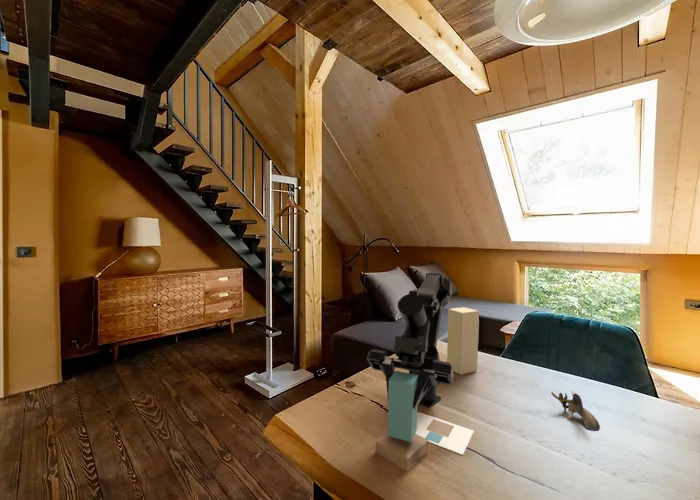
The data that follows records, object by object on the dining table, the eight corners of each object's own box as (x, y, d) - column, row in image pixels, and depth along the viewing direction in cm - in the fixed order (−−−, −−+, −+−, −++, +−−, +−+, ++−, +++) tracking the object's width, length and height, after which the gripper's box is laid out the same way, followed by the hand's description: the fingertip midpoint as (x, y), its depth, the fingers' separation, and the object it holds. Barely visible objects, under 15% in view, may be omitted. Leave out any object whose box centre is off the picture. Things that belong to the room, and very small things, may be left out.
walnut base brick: (397, 437, 74) (397, 424, 74) (428, 453, 69) (428, 440, 69) (375, 454, 68) (376, 440, 68) (407, 473, 63) (407, 458, 63)
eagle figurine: (544, 407, 85) (577, 421, 76) (555, 380, 87) (588, 391, 77) (568, 422, 86) (603, 437, 76) (578, 395, 88) (613, 407, 78)
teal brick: (394, 422, 72) (395, 370, 71) (416, 428, 70) (418, 375, 69) (387, 435, 67) (388, 380, 67) (411, 442, 65) (412, 385, 64)
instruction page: (418, 412, 84) (418, 411, 84) (474, 431, 76) (474, 430, 76) (402, 431, 76) (402, 431, 76) (462, 455, 68) (462, 454, 68)
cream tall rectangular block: (461, 363, 116) (463, 306, 115) (477, 371, 110) (479, 310, 109) (444, 367, 113) (446, 308, 112) (460, 375, 106) (462, 313, 105)
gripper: (370, 315, 75) (349, 381, 65) (453, 325, 67) (443, 402, 57) (380, 338, 82) (364, 400, 73) (456, 350, 74) (448, 421, 65)
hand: (401, 405), depth 67 cm, fingers closed on teal brick, 5 cm apart
